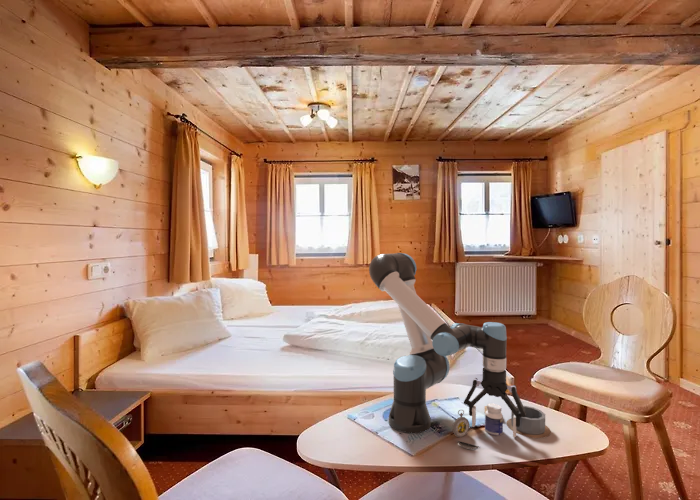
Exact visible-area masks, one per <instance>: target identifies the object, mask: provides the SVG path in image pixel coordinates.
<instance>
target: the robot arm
mask: <svg viewBox="0 0 700 500" xmlns="http://www.w3.org/2000/svg"><path fill="white" fill-rule="evenodd" d="M368 271H369V276H370V279H371V280H372V282H373V283H374V284H375V286H376V287H377V288H378V289H379V290H380V291H381V292H386V294H387V295H388V296H389V297H391V299H392V300H393V301H394V302H395V303H396V304H397V305H398V309H399V313H400V317H401V318H402V322H403V325H404V328H405V332H406V334H407V337H408V340H409V341H408V342H409V343H410V347H411V350H410V351H409V354H408V355H403V356H400V357H398V358H396V360H395V361H394V363H393V370H392V374H393V402H392V404H391V408H390V411H389V413H388V423H389V426H390V427H391V428H393V429H394V430H396V431H397V432H398V431H399V432H401V433H405V434H420V433H423V432H426V431H428V430H429V429H430V428H431V426H432V425H431V423H432V422H431V421H432V420H431V416H430V413H429V409H428V406H427V403H426V401H427V400H426V398H427V390H428V389H429V388H431V387H434V386H435V385H438V384H440V383H441V382H442V381H444V380H445V379H446V378H447V377H448V375H449V372H450V368H451V367H450V362H449V359H448V356H451V355H455V354H456V353H457V352H458V353H459V352H460V351H462V350H464V349H466V348H475V349H481V350H482V380H480V379H478V378H477V377H475V378H474V379H473V380H472V386H471V387H470V390H469V391H468V393H467V395H466V397H465V399H464V400H463V405H465V406H466V405H467V406H468V415H469V416H470V417H471V427H473V428H475V427H476V424H477V416H476V415H477V405H476V404H477V403H478V402H479V401H480V400H482V399H483V397H484V396H485V395H488V396H489V397H493V396H494V397H496V398H501V399H502V400H503V402H504V403H506V405H507V407H508V408H509V409H510V411H512V412H513V413H514V416H513V431H512V437H513V438H516V437H517V433H516V427H519V426H520V417H526V411H525V409H524V407H523V406H524V404H523V402H522V401H521V399H520V396H519V394H518V391H517V386H516V385H515V384H513V385H508V384H507V370H506V369H507V339H508V337H507V327H506V325H505V324H504V323H501V322H496V321H495V322H494V321H487V322H484V323H483V325H482V326H478V325H473V324H472V325H470V324H466V323H461V322H460V323H457V322H454V323H452V324H451V325H449V324H447V323H446V322H445V321H444V320H443V318H441V317H440V316H439V315H438V314H437V313H436V312H435V310H433V309H432V308H431V307H430V306H429V305H428V304H427V303H426V301H424V300H423V299H422V298H421V297H420V296H419V295H418V294H417V291H416V288H415V284H416V281H417V280H416V277H415V275H416V272H417V263H416V261H415V259H414V258H413V257H412V256H411V255H409V254H408V253H402V252H396V253H395V252H394V253H381V254H377V255H376V256H374V257H373V258H372V259H371V260H370V263H369V266H368ZM480 385H481V386H482V390H481V391H480V392H479V393H478V394H477V395H476V396H475V397H474V398H473V399H472V400H471V398H472V396H473V394H474V392H475V390H476V389H477V387H479V386H480ZM507 390H508V391H509V393H511V395H512V397H513V400H514V402H515V404H516V405H515V404H514V402H513V401H512V400H511V398H510V397H509V396H508V394H507V392H506V391H507ZM516 406H517V407H518V409H519V411H520V412H519V411H518V409H517V408H516Z"/></svg>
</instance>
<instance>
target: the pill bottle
mask: <svg viewBox="0 0 700 500" xmlns="http://www.w3.org/2000/svg"><path fill="white" fill-rule="evenodd" d="M486 406H487V411H486V412H485V413H484V432H486V433H487V434H488V435H490V436H495V437H498V436H502V435H503V434H504V433H503V432H504V431H503V430H504V415H503V413H502V406H501V405H499V404H497V403H493V402H491V403H487V404H486Z"/></svg>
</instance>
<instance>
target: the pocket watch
mask: <svg viewBox="0 0 700 500" xmlns="http://www.w3.org/2000/svg"><path fill="white" fill-rule="evenodd" d="M460 411H461V412H460ZM459 412H460V413H459ZM457 415H459V417H457V418H456V419H455V420H454V422H453V425H452V433H453V435H454V436H455V437H457V438H463V437H465V436H466V435H467V434H468V432H469V430H470V421H469V419H468V418H467V417H465V416H463V415H465V410H464V409H459V410H458V411H457ZM457 443H458V445H459V446H460V447H461V448H463V449H465V450H466V449H467V450H476V449H478V448H479V445H475V444H471V443H468V442H465V441H460V440H457Z"/></svg>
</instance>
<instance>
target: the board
mask: <svg viewBox="0 0 700 500" xmlns="http://www.w3.org/2000/svg"><path fill="white" fill-rule="evenodd" d="M505 424H506V426H507V427H508V429H509V430H511V431H512V432H513V426H512V423H511V418H508V420H506V423H505ZM551 433H552V432H551V429H550V427H549V426H547V425H546V424H545V432H544V433H543V434H541V435H530V434H525V433H522V432H520V431H518V430H516V434H518V435H520V436H524V437H527V438H534V439H542V438H543V439H544V438H546V437H549V436H550V435H551Z"/></svg>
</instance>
